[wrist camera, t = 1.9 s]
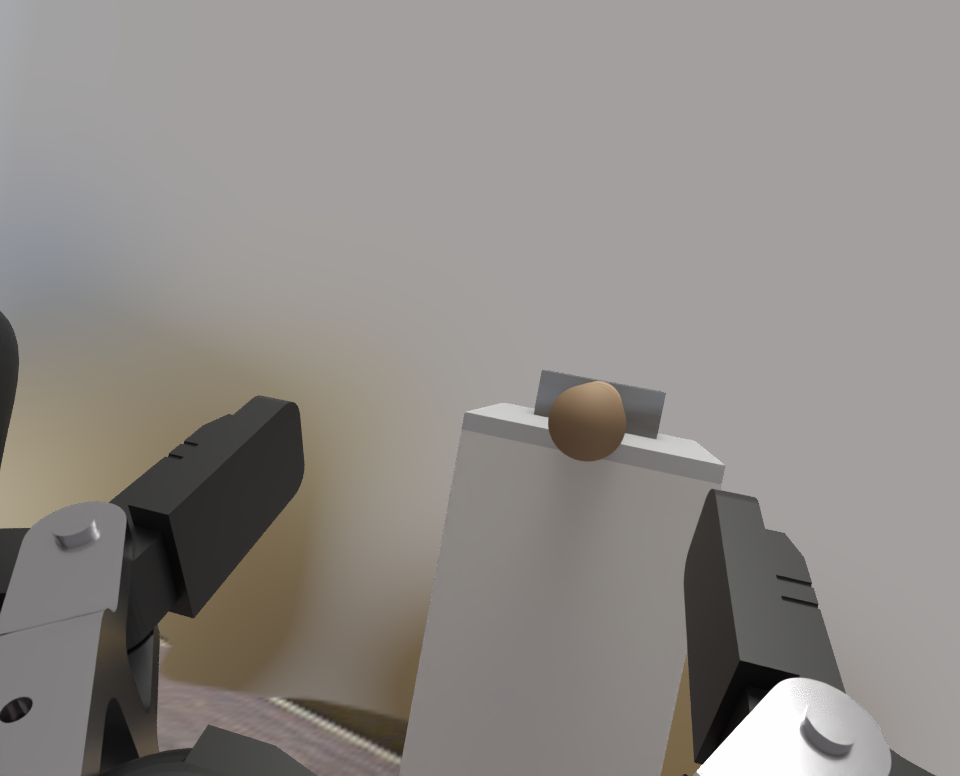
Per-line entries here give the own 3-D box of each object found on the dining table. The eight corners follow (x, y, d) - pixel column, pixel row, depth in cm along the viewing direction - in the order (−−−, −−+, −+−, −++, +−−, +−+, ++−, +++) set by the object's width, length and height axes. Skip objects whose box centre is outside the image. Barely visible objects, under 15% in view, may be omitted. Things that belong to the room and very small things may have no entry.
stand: (369, 939, 36) (464, 412, 34) (430, 799, 47) (503, 402, 45) (605, 1037, 33) (725, 465, 31) (608, 863, 44) (695, 440, 42)
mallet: (684, 483, 23) (701, 405, 22) (481, 439, 24) (494, 366, 24) (651, 432, 43) (659, 391, 43) (542, 410, 45) (549, 370, 45)
